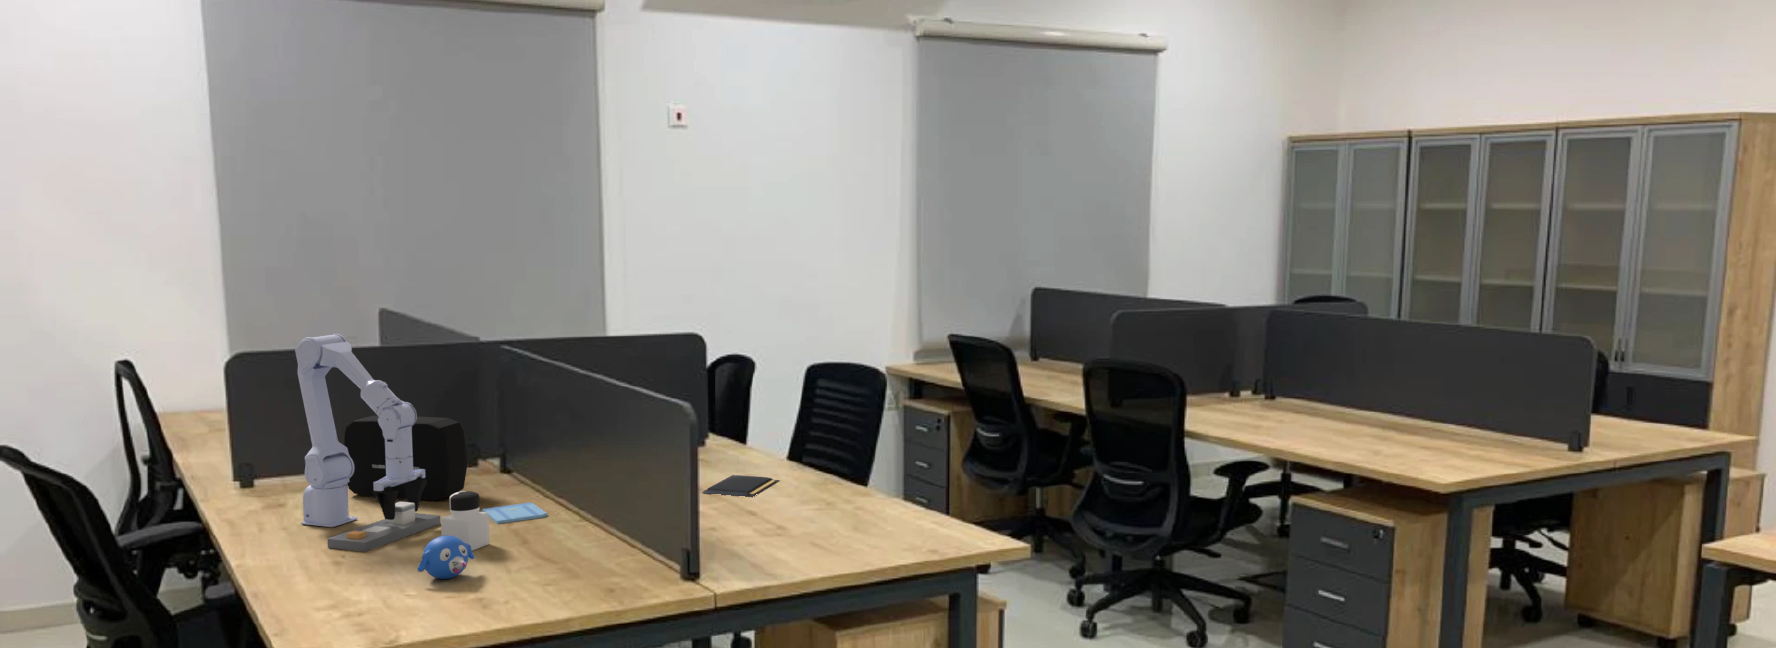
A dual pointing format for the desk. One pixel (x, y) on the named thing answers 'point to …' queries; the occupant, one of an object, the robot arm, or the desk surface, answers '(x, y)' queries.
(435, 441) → the black hard case
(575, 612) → the desk surface
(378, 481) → the robot arm
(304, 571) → the desk surface
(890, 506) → the desk surface
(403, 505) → the block
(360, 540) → the grey slab
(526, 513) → the light blue flat rectangle
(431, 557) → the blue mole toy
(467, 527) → the medicine bottle
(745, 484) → the black notebook
